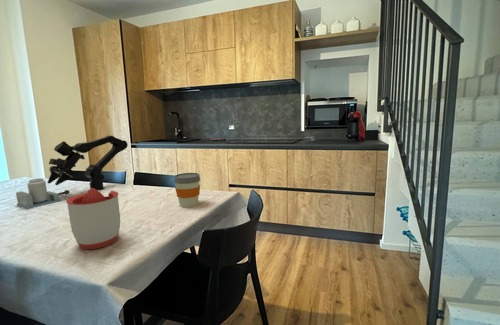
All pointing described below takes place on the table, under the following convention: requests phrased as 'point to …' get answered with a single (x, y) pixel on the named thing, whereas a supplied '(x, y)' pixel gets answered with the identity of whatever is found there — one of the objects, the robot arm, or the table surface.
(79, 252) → the table surface
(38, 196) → the can
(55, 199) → the vise
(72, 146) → the robot arm
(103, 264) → the table surface
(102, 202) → the citrus juicer
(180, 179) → the reusable coffee cup
